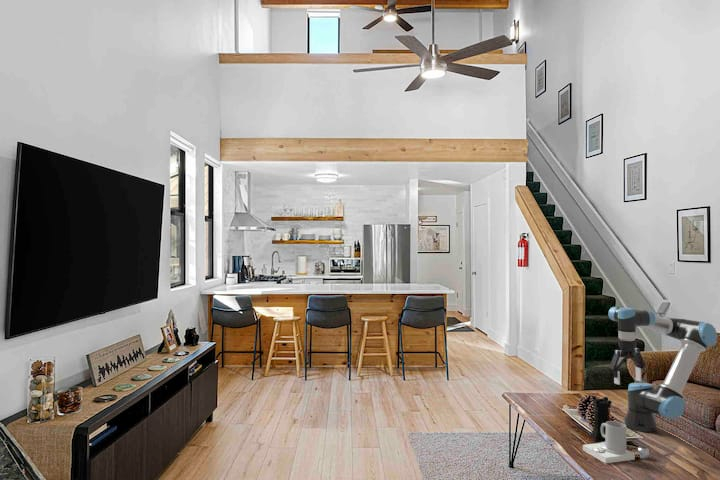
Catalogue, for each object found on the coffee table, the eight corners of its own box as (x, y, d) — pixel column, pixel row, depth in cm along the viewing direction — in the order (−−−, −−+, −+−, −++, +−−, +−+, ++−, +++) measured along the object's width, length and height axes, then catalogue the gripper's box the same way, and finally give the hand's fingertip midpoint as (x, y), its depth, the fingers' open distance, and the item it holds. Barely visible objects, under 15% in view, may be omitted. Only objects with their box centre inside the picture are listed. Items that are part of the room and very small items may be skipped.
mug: (630, 450, 216) (630, 426, 216) (617, 453, 212) (618, 428, 213) (607, 440, 227) (607, 417, 227) (594, 443, 223) (594, 419, 223)
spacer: (643, 454, 220) (643, 446, 220) (651, 458, 216) (651, 450, 216) (635, 455, 219) (635, 447, 219) (643, 459, 214) (643, 451, 214)
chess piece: (612, 442, 233) (612, 401, 233) (594, 441, 234) (595, 400, 235) (607, 436, 240) (607, 396, 241) (590, 435, 242) (590, 395, 242)
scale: (610, 446, 228) (610, 439, 228) (634, 459, 214) (634, 451, 214) (582, 450, 224) (582, 442, 224) (605, 463, 210) (605, 455, 210)
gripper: (639, 335, 242) (640, 377, 242) (600, 340, 234) (601, 383, 234) (653, 338, 235) (654, 381, 235) (613, 343, 227) (614, 387, 227)
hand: (627, 382), depth 235 cm, fingers open, 13 cm apart
